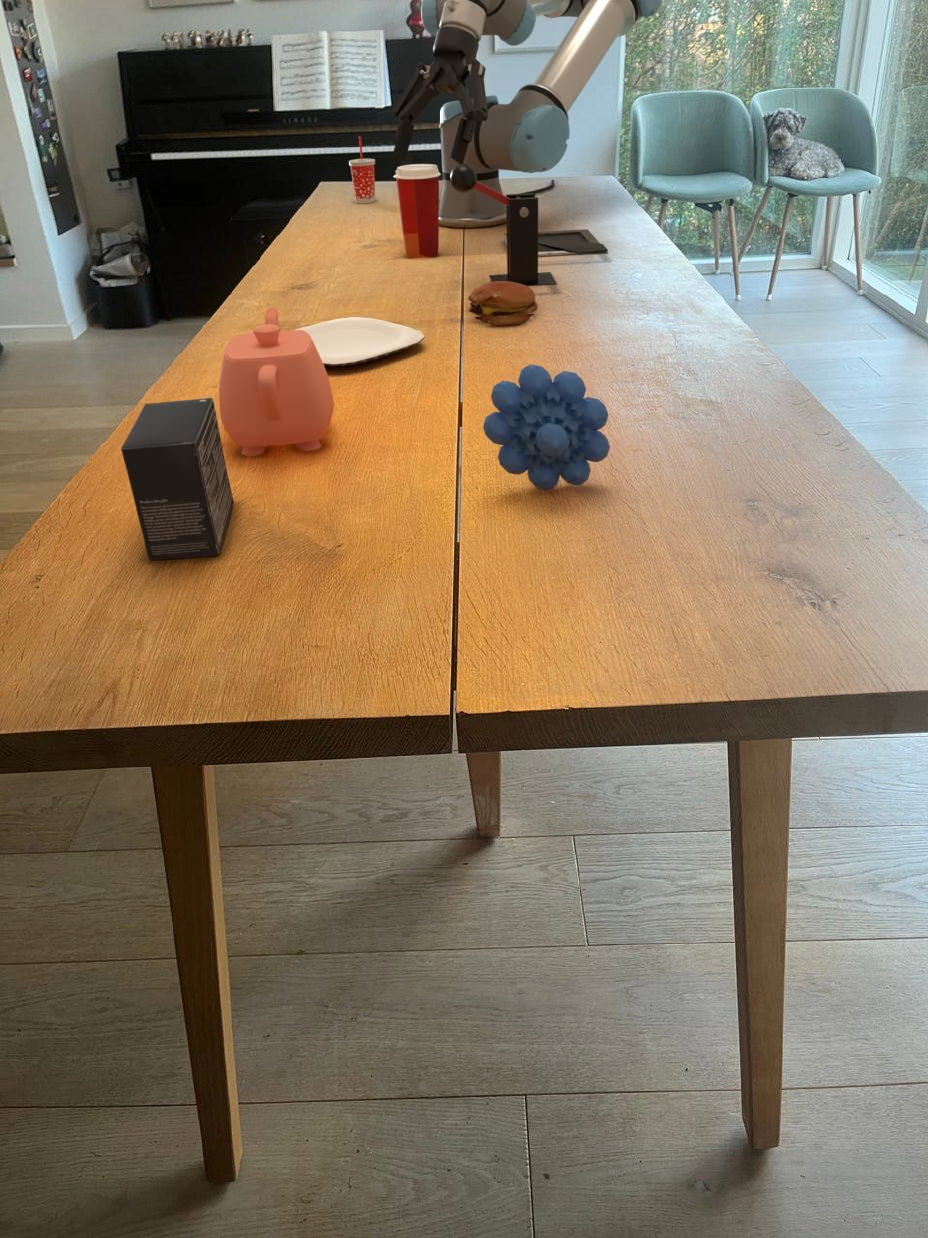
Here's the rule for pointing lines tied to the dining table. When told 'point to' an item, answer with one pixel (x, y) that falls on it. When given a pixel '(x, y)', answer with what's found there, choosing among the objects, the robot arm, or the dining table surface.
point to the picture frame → (568, 243)
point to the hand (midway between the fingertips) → (426, 159)
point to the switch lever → (473, 183)
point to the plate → (359, 340)
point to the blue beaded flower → (547, 427)
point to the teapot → (274, 389)
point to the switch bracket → (523, 243)
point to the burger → (502, 303)
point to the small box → (179, 479)
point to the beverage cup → (363, 178)
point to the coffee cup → (419, 208)
